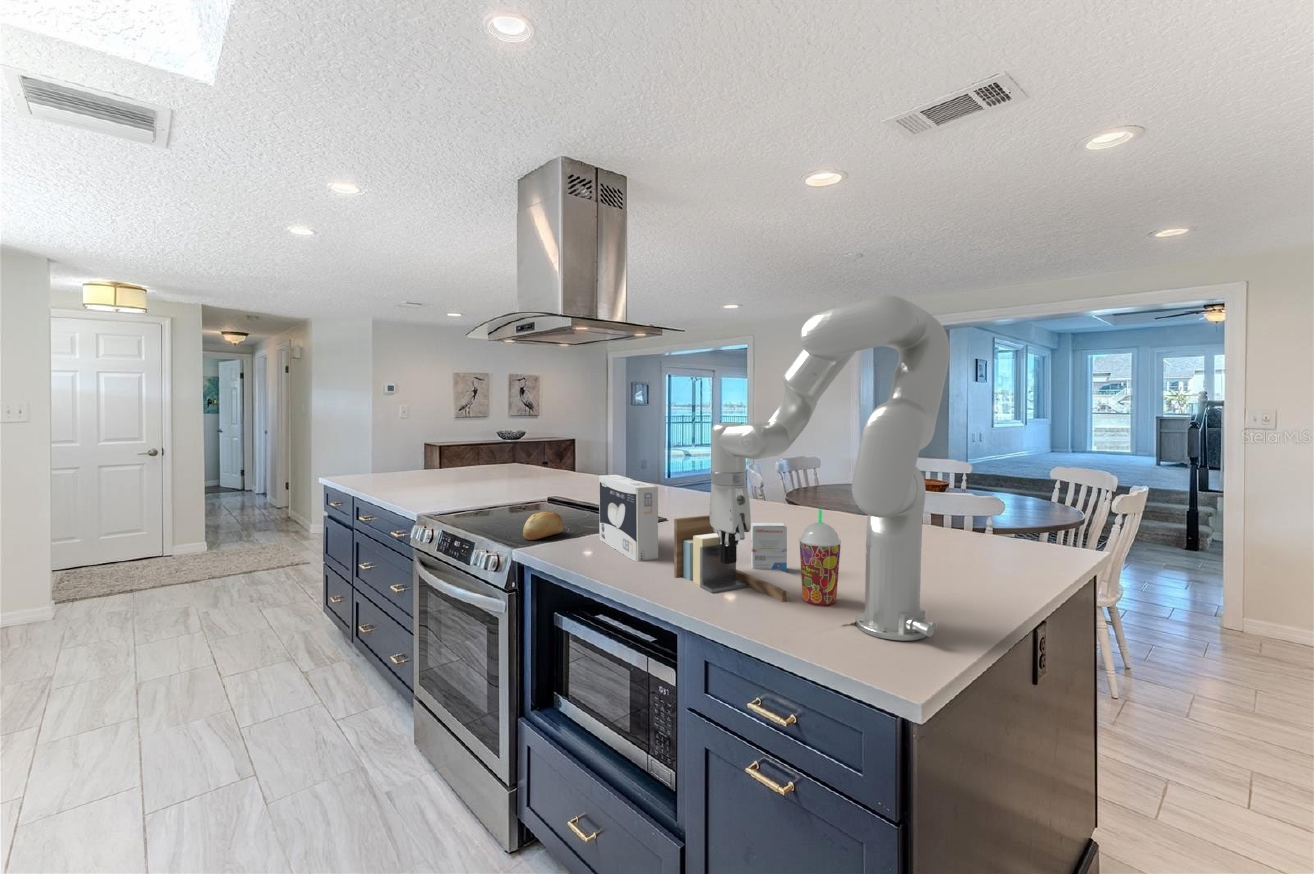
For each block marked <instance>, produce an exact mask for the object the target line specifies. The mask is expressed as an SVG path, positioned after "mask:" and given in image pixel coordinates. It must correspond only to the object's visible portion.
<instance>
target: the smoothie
mask: <svg viewBox="0 0 1314 874" xmlns="http://www.w3.org/2000/svg"><path fill="white" fill-rule="evenodd" d="M822 514H823V509H818V522H814V523H812V524H810V525H807V527H806V528H805V529H804V530H803V532H802V534H801V536H800V537H799V538H798V542H799V555H800V579H801V593H802V594H801V597H802V599H803V600H804V601H805V602H804V603H807V604H808V605H812V606H818V607H828V606H829V607H830V606H831V605H832V606H833V605H834V603H836V601H837V596H838V595H837V594H838V581H839V569H840V560H841V559H840V556H841V544H842V540H841V539H840V538H839V535H838V533H837V532H836V531H837V530H835V528H834V527H832V526H831V525H829V524H828V523H825V522H823V515H822Z"/></svg>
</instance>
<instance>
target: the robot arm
mask: <svg viewBox="0 0 1314 874" xmlns="http://www.w3.org/2000/svg"><path fill="white" fill-rule="evenodd" d="M799 336H800V337H799V339H800V344H801V346H802V349H801V350H800V352H799V354H798V355H797V356H796V357H795V359H794V360H793V362H792V363H791V364H790V365H789V366H788V368H787V369H786V371H785V372H784V373H783V377H782V380H783V385H784V390H785V391H784V397H783V399H782V401H781V402H780V404H779V406H778V407H777V409H776V410H775V412H774V413H773V414H772V416H771V417H770V419H769V420H768V421H763V422H761V421H760V422H751V423H745V424H742V423H735V422H725V423H724V422H722V423H721V422H720V423H715V424H714V425H713V426H712V427H711V430H710V431H711V433H710V438H711V439H710V441H711V442H710V443H711V444H710V446H711V447H710V449H711V451H710V452H711V456H710V457H711V458H710V460H711V461H710V462H711V465H710V467H711V470H710V471H711V472H710V473H711V478H710V481H711V482H710V483H711V484H710V486H711V488H710V495H709V496H710V497H709V515H710V525H711V526H712V527H713V530H714V532H715V533H717V534H718V536H719V543H720V544H722V545H720V562H722V563H724V564H730V563H736V564H737V562H738V561H737V559H738V558H737V557H738V556H737V553H738V552H737V551H738V550H737V546H738V545H739V541H743V540H745V539H746V537H745V533H749V532H751V523H752V522H751V521H752V519H751V517H752V516H751V504H750V496H749V490H748V487H747V459H750V460H760V459H765V458H770V457H776V456H780V455H781V454H783V453H785V452H786V451H787V450H788V449H789V448H790V447H791V446H792V445H793V443H794V442H795V441H796V440H797V438H798V437H799V436H800V435H801V433H802V432H803V431H804V429H805V428H806V427H807V425H808V424H809V422H810V420H811V418H812V416H813V414H814V412H815V409H816V408H817V406H818V405H817V404H818V401H819V400H820V398H821V397H822V396H823V395H824V393H825V392H826V390H827V389H828V388H829V386H830V385H831V384H832V383H833V381H834V380H835V379H836V377H837V376H839V373H841V371H842V370H844V368H845V366H846V365H847V364H848V363H849V361H850V360H851V359H852V357H853V356H854V355H855V354H856V352H857V351H858V352H859V351H863V350H869V349H873V348H878V347H887V348H889V349H890V348H891V349H894V350H896V351H897V352H898V362H897V364H896V367H895V370H894V373H893V377H892V381H891V386H890V387H891V388H890V391H889V395H888V399H887V401H885V402H884V403H882V404H879V405H878V406H877V407H875V408H874V410H872V412H871V413H870V414H869V415H868V418H867V420H866V421H865V424H864V428H863V431H862V435H861V439H860V445H859V448H858V453H857V457H856V462H855V466H854V472H853V475H852V481H851V482H852V483H851V492H852V496H853V499H854V502H855V504H856V506H857V507H858V509H859V510H861V511H862V512H863V513H865V514H866V515H867V518H866V519H867V520H866V531H865V533H866V534H865V569H864V570H865V573H864V574H865V575H864V576H865V577H864V578H865V579H864V612H861V613H859V614H857V616H856V618H855V624H856V626H857V628H858V629H859V630H860V631H862V632H864V633H865V634H868V635H871V636H873V637H876V638H881V639H886V640H891V641H901V642H903V641H904V642H905V641H908V642H910V641H917V640H922V639H924V638H926V637H928V638H929V637H931V636H933V634H934V633H935V630H936V629H937V627H938V626H937V622H935V621H932V620H930V619H926V609H923V608H921V582H922V581H921V576H922V573H921V572H922V568H921V567H922V546H923V545H922V543H923V542H922V541H923V539H922V538H923V537H922V536H923V534H922V533H923V522H924V510H925V501H926V482H925V478H924V475H923V473H922V472H921V470H920V469H919V468H918V467H917V463H918V458H919V454H920V451H922V450H923V449H925V448H926V447H927V446H929V444H930V443H931V441H933V437H934V435H935V431H936V423H937V420H938V419H937V418H938V415H939V410H940V404H941V402H942V396H943V394H944V393H943V391H944V385H945V383H946V382H945V381H946V377H947V373H948V369H949V368H948V367H949V363H950V349H951V348H950V341H949V338H948V337H949V336H948V335H947V332H946V330H945V328H944V327H943V324H941V322H940V321H939V320H938V319H937V318H935V317H934V316H933V315H932V314H930V313H929V312H928V311H927V310H925V309H923V308H922V307H920V306H919V305H917V304H916V303H913V302H911V301H909V300H907V299H905V298H903V297H901V296H897V295H891V294H890V295H880V296H879V295H878V296H875V297H871V298H867V299H863V300H860V301H856V302H852V303H848V304H844V305H840V306H836V307H832V308H828V309H825V310H822V311H819V312H817V313H815V314H813V315H811V316H810V317H809V318H808V319H807V320H806V321H805V322H804V324H803V325H802V327H801V330H800V334H799Z"/></svg>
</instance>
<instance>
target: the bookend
mask: <svg viewBox="0 0 1314 874" xmlns="http://www.w3.org/2000/svg"><path fill="white" fill-rule="evenodd" d="M720 545H722V544H720ZM720 545H712V546H705V547H700V585H699V587H700V588H702V589H704V590H705V591H707V592H709V593H710V594H715V593H721V592H727V591H733V590H738V589H744V588H747V585H746V583H744V582H741V581H739V580H737V579H736V569H737V562H736V563H730V564H724V563H722V562H720Z"/></svg>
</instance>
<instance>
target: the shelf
mask: <svg viewBox="0 0 1314 874" xmlns="http://www.w3.org/2000/svg"><path fill="white" fill-rule="evenodd" d="M673 521H674V522H673V523H674V524H673V525H674V528H673V529H674V531H673V532H674V533H673V537H674V538H673V539H674V540H673V541H674V547H673V550H674V551H673V552H674V554H673V555H674V558H673V560H674V563H673V564H674V569H673V570H674V573H673V575H674V578H675V579H681V578H684V577H683V540H692V539H693V536H696V535H704V534H713V533H715V532H714V530H713V527H712V526H711V525H710V514H709V515H700V516H691V517H681V518H680V517H678V518H674V520H673ZM736 579H737V580H739V581H741V582H744V583H746V587H750V588H752V589H754V590H756V591H758V592H761V593H762V594H765V595H767V596H769V597H771V598H773V599H775V600H777V601H780V602H787V590H785V589H783V588H781V587H778V586H776V585H773V584H771V583H770V582H766V581H765V580H762V579H760V578H758V577H754V576H753V575H750V574H748V573H746V572H743V571H741V570H740V569H737V568H736Z"/></svg>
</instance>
